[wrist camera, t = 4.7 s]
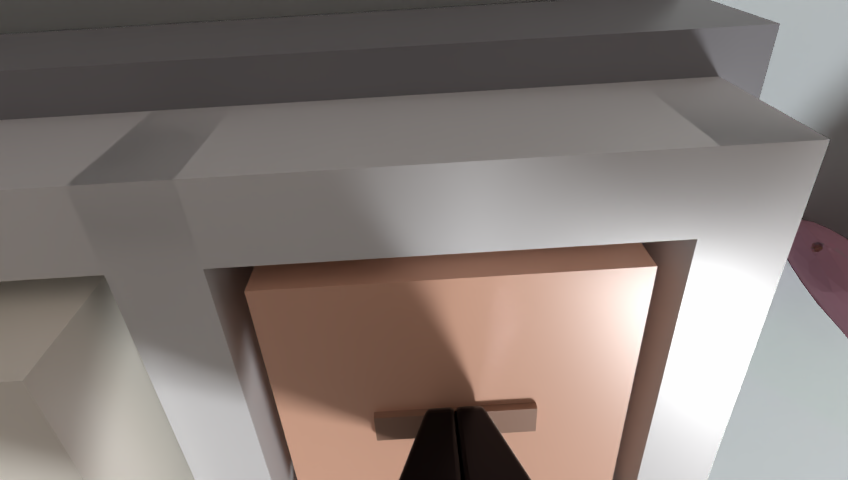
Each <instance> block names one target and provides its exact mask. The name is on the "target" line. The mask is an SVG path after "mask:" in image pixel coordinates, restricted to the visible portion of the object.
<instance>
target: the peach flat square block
mask: <svg viewBox="0 0 848 480" xmlns="http://www.w3.org/2000/svg"><path fill="white" fill-rule="evenodd" d="M657 267H658V266H657V265H656V263H655V262H654V260H653V259H652V257H651V256H650V255H649V253H648V252H647V250H646V249H645V247H644V246H643V244H642V243H624V244H608V245H591V246H575V247H559V248H542V249H526V250H509V251H493V252H476V253H460V254H444V255H427V256H411V257H394V258H378V259H361V260H345V261H329V262H312V263H296V264H279V265H263V266H254V269H253V271H252V274H251V276H250V278H249V281H248V283H247V286H246V288H245V291H244V292H245V296H246V299H247V303H248V306H249V310H250V314H251V317H252V321H253V324H254V328H255V331H256V335H257V338H258V342H259V345H260V349H261V352H262V356H263V360H264V363H265V367H266V370H267V374H268V377H269V381H270V384H271V388H272V391H273V395H274V398H275V402H276V406H277V409H278V413H279V416H280V420H281V423H282V427H283V430H284V434H285V437H286V441H287V445H288V448H289V452H290V455H291V459H292V462H293V466H294V469H295V473H296V476H297V480H399V478H400V475H401V473H402V470H403V468H404V465H405V463H406V460H407V458H408V455H409V453H410V450H411V447H412V445H413V442H414V440H415V437H416V435H417V432H418V430H419V427H420V425H421V422H422V419H423V417H424V415H425V413H426V411H427V410H428V409H431V408H447V407H450V408H452V409H453V410H454V411H455V410H456V409H457V408H458V407H464V406H481V407H483V408H484V409H485V410H486V412H487V413H488V415H489V416H490V418H491V419H492V421H493V422H494V424H495V425H496V427H497V428H498V430H499V431H500V433H501V434H502V436H503V437H504V439H505V440H506V442H507V444H508V445H509V447H510V448H511V450H512V451H513V453H514V454H515V456H516V457H517V459H518V460H519V462H520V463H521V465H522V466H523V468H524V469H525V471H526V472H527V474H528V475H529V477H530V479H531V480H612V479H613V474H614V469H615V465H616V460H617V455H618V451H619V446H620V441H621V436H622V432H623V427H624V422H625V418H626V413H627V408H628V403H629V399H630V394H631V389H632V385H633V380H634V375H635V370H636V366H637V361H638V356H639V352H640V347H641V342H642V337H643V333H644V328H645V323H646V319H647V314H648V309H649V304H650V300H651V295H652V290H653V286H654V281H655V276H656V271H657Z"/></svg>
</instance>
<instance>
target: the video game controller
mask: <svg viewBox="0 0 848 480" xmlns="http://www.w3.org/2000/svg"><path fill="white" fill-rule="evenodd" d="M787 259H788V261H789V263H790V265H791V267H792V268H793V270H794V271H795V273H796V274H797V276H798V277H799V279H800V280H801V282H802V283H803V285H804V286H805V287H806V289H807V290H808V292H809V293H810V294H811V296H812V297H813V298H814V300H815V301H816V302H817V304H818V305H819V306H820V307H821V308H822V309H823V310H824V311H825V313H826V314H827V315H828V316H829V317H830V318H831V319H832V321H833V322H834V323H835V324H836V325H837V326H838V327H839V328H840V330H841V331H842V332H843V333H844V334H845V335H846V337H847V338H848V239H846V238H845V237H843V236H841V235H839V234H838V233H836V232H834V231H833V230H831V229H829V228H826V227H824V226H822V225H819V224H817V223H814V222H811V221H806V220H801V222H800V225H799V227H798V230H797V233H796V236H795V238H794V241H793V244H792V247H791V250H790V252H789V255H788V258H787Z"/></svg>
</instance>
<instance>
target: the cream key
mask: <svg viewBox="0 0 848 480" xmlns="http://www.w3.org/2000/svg"><path fill="white" fill-rule="evenodd" d="M0 480H195V479H194V477H193V474H192V472H191V470H190V468H189V465H188V463H187V461H186V459H185V456H184V454H183V452H182V450H181V447H180V445H179V443H178V441H177V438H176V436H175V434H174V431H173V429H172V427H171V425H170V422H169V420H168V418H167V416H166V413H165V411H164V409H163V407H162V404H161V402H160V400H159V398H158V395H157V393H156V391H155V389H154V386H153V384H152V382H151V380H150V377H149V375H148V373H147V371H146V368H145V366H144V364H143V362H142V359H141V357H140V355H139V353H138V350H137V348H136V346H135V344H134V341H133V339H132V337H131V335H130V332H129V330H128V328H127V326H126V323H125V321H124V319H123V317H122V314H121V312H120V310H119V308H118V305H117V303H116V301H115V298H114V296H113V294H112V292H111V289H110V287H109V285H108V283H107V280H106V278H105V276H104V275H99V276H82V277H66V278H49V279H33V280H16V281H0Z"/></svg>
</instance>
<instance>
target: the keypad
mask: <svg viewBox="0 0 848 480" xmlns="http://www.w3.org/2000/svg"><path fill="white" fill-rule="evenodd" d="M779 25H780V24H779V23H776V22H773V21H770V20H767V19H764V18H761V17H758V16H756V15H753V14H750V13H747V12H744V11H741V10H738V9H735V8H732V7H729V6H726V5H723V4H720V3H717V2H714V1H711V0H555V1H538V2H522V3H506V4H489V5H473V6H456V7H440V8H423V9H407V10H390V11H374V12H358V13H341V14H325V15H308V16H292V17H275V18H259V19H242V20H226V21H210V22H193V23H177V24H160V25H144V26H127V27H111V28H94V29H78V30H62V31H45V32H29V33H12V34H0V281H16V280H33V279H49V278H66V277H82V276H99V275H104V276H105V278H106V280H107V283H108V285H109V287H110V289H111V292H112V294H113V296H114V298H115V301H116V303H117V305H118V308H119V310H120V312H121V314H122V317H123V319H124V321H125V323H126V326H127V328H128V330H129V332H130V335H131V337H132V339H133V341H134V344H135V346H136V348H137V350H138V353H139V355H140V357H141V359H142V362H143V364H144V366H145V368H146V371H147V373H148V375H149V377H150V380H151V382H152V384H153V386H154V389H155V391H156V393H157V395H158V398H159V400H160V402H161V404H162V407H163V409H164V411H165V413H166V416H167V418H168V420H169V422H170V425H171V427H172V429H173V431H174V434H175V436H176V438H177V441H178V443H179V445H180V447H181V450H182V452H183V454H184V456H185V459H186V461H187V463H188V465H189V468H190V470H191V472H192V474H193V477H194V479H195V480H297V476H296V473H295V469H294V466H293V462H292V459H291V455H290V452H289V448H288V445H287V441H286V437H285V434H284V430H283V427H282V423H281V420H280V416H279V413H278V409H277V406H276V402H275V398H274V395H273V391H272V388H271V384H270V381H269V377H268V374H267V370H266V367H265V363H264V360H263V356H262V352H261V349H260V345H259V342H258V338H257V335H256V331H255V328H254V324H253V321H252V317H251V314H250V310H249V306H248V303H247V299H246V296H245V292H244V291H245V288H246V286H247V283H248V281H249V278H250V276H251V274H252V271H253V269H254V266H263V265H279V264H296V263H312V262H329V261H345V260H361V259H378V258H394V257H411V256H427V255H444V254H460V253H476V252H493V251H509V250H526V249H542V248H559V247H575V246H591V245H608V244H624V243H642V244H643V246H644V247H645V249H646V250H647V252H648V253H649V255H650V256H651V257H652V259H653V260H654V262H655V263H656V265H657V266H658V267H657V271H656V276H655V281H654V286H653V290H652V295H651V300H650V304H649V309H648V314H647V319H646V323H645V328H644V333H643V337H642V342H641V347H640V352H639V356H638V361H637V366H636V370H635V375H634V380H633V385H632V389H631V394H630V399H629V403H628V408H627V413H626V418H625V422H624V427H623V432H622V436H621V441H620V446H619V451H618V455H617V460H616V465H615V469H614V474H613V479H612V480H707V479H708V476H709V474H710V471H711V468H712V465H713V463H714V460H715V457H716V454H717V452H718V449H719V446H720V443H721V440H722V438H723V435H724V432H725V429H726V427H727V424H728V421H729V418H730V416H731V413H732V410H733V407H734V404H735V402H736V399H737V396H738V393H739V391H740V388H741V385H742V382H743V380H744V377H745V374H746V371H747V369H748V366H749V363H750V360H751V357H752V355H753V352H754V349H755V346H756V344H757V341H758V338H759V335H760V333H761V330H762V327H763V324H764V321H765V319H766V316H767V313H768V310H769V308H770V305H771V302H772V299H773V297H774V294H775V291H776V288H777V285H778V283H779V280H780V277H781V274H782V272H783V269H784V266H785V263H786V261H787V258H788V255H789V252H790V250H791V247H792V244H793V241H794V238H795V236H796V233H797V230H798V227H799V225H800V222H801V219H802V216H803V214H804V211H805V208H806V205H807V202H808V200H809V197H810V194H811V191H812V189H813V186H814V183H815V180H816V178H817V175H818V172H819V169H820V167H821V164H822V161H823V158H824V155H825V153H826V150H827V147H828V144H829V142H830V139H828V138H827V137H825V136H823V135H821V134H820V133H818V132H816V131H814V130H812V129H811V128H809V127H807V126H805V125H804V124H802V123H800V122H798V121H797V120H795V119H793V118H791V117H790V116H788V115H786V114H784V113H783V112H781V111H779V110H777V109H775V108H774V107H772V106H770V105H768V104H767V103H765V102H763V101H761V100H760V99H759V97H760V94H761V90H762V86H763V83H764V79H765V76H766V72H767V68H768V65H769V61H770V58H771V54H772V50H773V47H774V43H775V40H776V36H777V32H778V29H779Z"/></svg>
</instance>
